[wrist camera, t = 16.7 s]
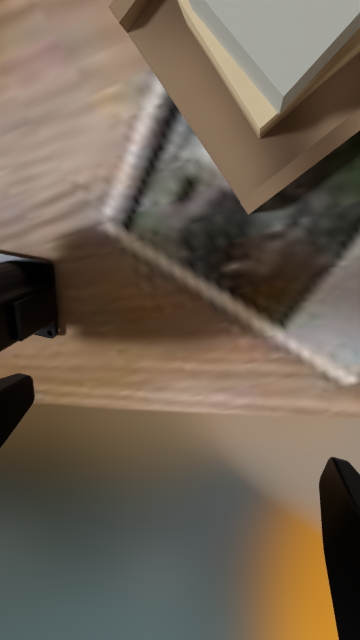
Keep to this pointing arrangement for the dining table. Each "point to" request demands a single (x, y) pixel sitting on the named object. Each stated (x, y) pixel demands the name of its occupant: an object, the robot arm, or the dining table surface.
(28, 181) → the dining table surface
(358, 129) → the walnut tray
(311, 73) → the grey offcut
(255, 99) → the pine offcut
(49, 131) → the dining table surface
